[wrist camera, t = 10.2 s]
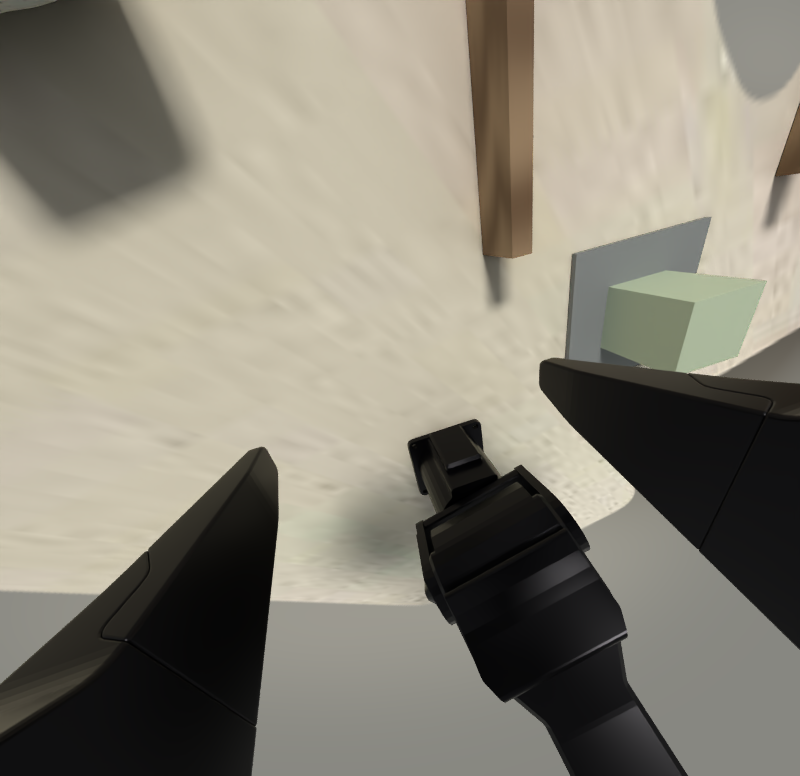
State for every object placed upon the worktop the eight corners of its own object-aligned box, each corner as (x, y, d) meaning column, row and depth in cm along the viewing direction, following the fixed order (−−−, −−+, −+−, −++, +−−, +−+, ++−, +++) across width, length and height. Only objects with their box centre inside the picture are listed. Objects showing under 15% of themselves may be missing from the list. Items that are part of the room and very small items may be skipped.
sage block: (652, 331, 25) (737, 356, 20) (600, 347, 25) (673, 377, 20) (666, 270, 23) (766, 280, 18) (608, 286, 22) (694, 302, 17)
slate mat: (670, 351, 27) (674, 353, 27) (563, 386, 26) (566, 388, 26) (705, 217, 22) (711, 216, 22) (572, 253, 21) (576, 254, 21)
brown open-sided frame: (788, 172, 22) (863, 162, 19) (483, 254, 20) (512, 258, 17) (964, -317, 13) (1156, -482, 10) (447, -275, 11) (495, -474, 8)
